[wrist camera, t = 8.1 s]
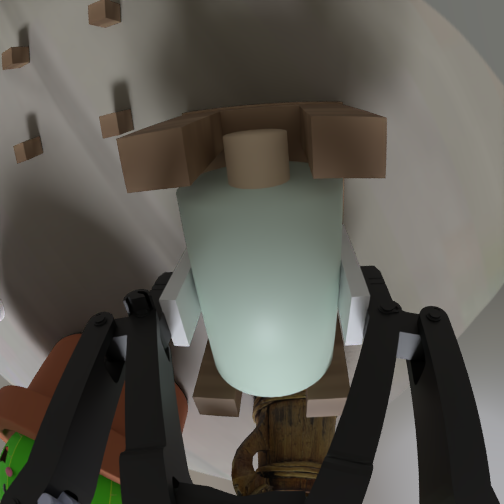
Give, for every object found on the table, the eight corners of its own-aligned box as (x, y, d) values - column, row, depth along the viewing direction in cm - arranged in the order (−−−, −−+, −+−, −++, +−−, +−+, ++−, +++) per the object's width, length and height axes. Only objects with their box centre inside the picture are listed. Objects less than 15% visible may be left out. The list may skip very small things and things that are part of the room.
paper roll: (191, 131, 15) (140, 161, 9) (326, 121, 15) (363, 143, 9) (226, 333, 22) (212, 415, 16) (324, 330, 21) (336, 412, 15)
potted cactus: (247, 412, 32) (218, 618, 10) (137, 437, 40) (96, 570, 18) (91, 278, 24) (-57, 534, 3) (22, 348, 32) (-57, 487, 11)
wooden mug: (256, 346, 26) (230, 558, 11) (355, 400, 29) (368, 557, 14) (203, 387, 30) (165, 549, 15) (297, 430, 33) (292, 565, 18)
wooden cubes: (18, 52, 15) (1, 53, 13) (119, 4, 13) (104, -2, 12) (33, 156, 19) (17, 163, 17) (133, 129, 18) (119, 134, 16)
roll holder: (186, 112, 17) (113, 136, 9) (339, 101, 16) (389, 114, 8) (221, 320, 25) (198, 414, 17) (334, 318, 24) (347, 415, 16)
